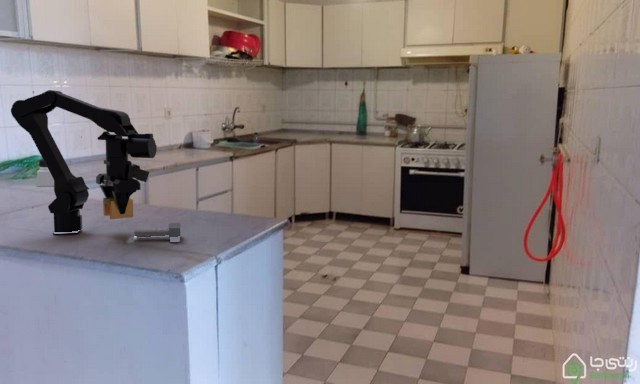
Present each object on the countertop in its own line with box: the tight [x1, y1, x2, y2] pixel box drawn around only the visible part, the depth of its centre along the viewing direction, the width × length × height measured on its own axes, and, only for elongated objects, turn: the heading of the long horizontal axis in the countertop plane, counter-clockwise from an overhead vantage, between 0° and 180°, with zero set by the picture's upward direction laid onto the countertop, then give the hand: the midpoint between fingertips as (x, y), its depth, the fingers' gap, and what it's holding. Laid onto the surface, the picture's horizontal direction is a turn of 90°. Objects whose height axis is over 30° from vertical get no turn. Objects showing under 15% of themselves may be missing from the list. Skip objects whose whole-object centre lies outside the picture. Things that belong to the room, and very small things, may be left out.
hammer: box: [133, 222, 181, 239], centre depth 140 cm, size 12×7×4 cm, turn 105°
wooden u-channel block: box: [102, 197, 134, 220], centre depth 143 cm, size 6×6×5 cm
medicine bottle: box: [36, 158, 54, 188], centre depth 232 cm, size 7×7×12 cm
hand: (118, 212), depth 144 cm, fingers closed on wooden u-channel block, 6 cm apart
